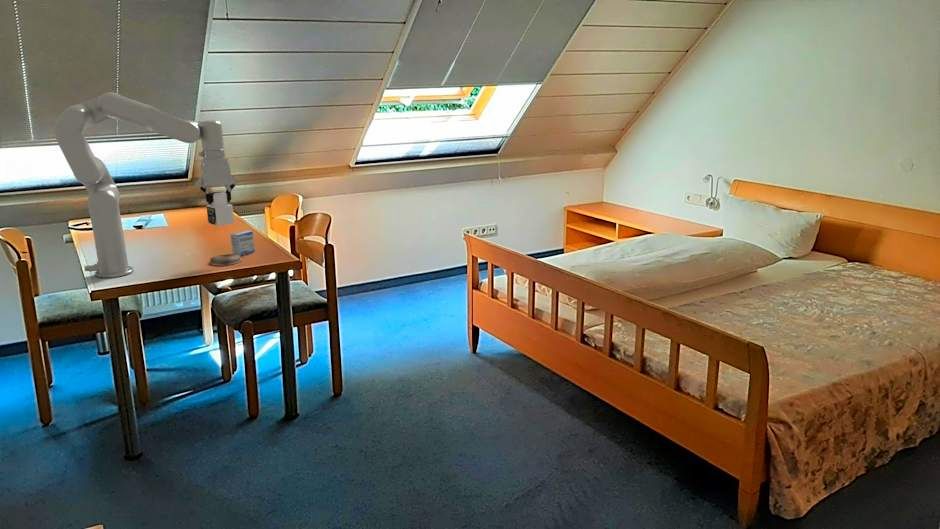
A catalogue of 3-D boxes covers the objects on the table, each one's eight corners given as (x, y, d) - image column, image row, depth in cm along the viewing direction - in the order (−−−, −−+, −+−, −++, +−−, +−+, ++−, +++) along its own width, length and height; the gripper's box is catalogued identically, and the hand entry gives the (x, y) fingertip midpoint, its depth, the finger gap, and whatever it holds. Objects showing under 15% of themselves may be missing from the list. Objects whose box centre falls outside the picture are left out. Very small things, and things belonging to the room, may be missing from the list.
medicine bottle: (208, 223, 263) (204, 192, 260) (226, 220, 268) (222, 190, 265) (216, 226, 259) (213, 194, 255) (234, 223, 263) (231, 192, 260)
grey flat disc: (213, 267, 260) (212, 263, 259) (207, 260, 269) (206, 256, 269) (244, 262, 266) (244, 258, 265) (237, 256, 275) (237, 252, 275)
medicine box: (240, 256, 275) (238, 235, 273) (232, 255, 277) (230, 233, 275) (255, 251, 282) (253, 231, 279) (247, 250, 284) (245, 230, 281)
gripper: (191, 157, 249) (196, 207, 254) (240, 154, 258) (245, 202, 262) (187, 155, 255) (193, 203, 260) (235, 152, 264) (240, 199, 269)
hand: (219, 202), depth 261 cm, fingers closed on medicine bottle, 6 cm apart
